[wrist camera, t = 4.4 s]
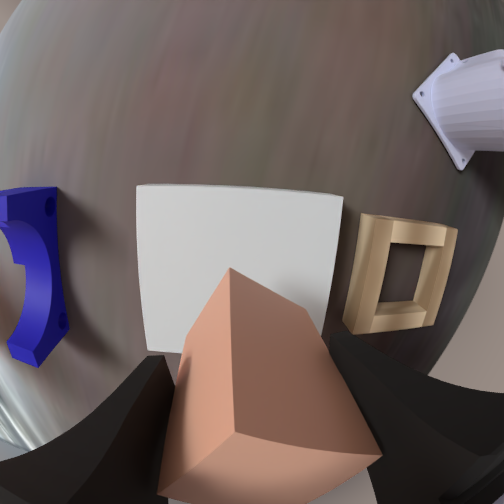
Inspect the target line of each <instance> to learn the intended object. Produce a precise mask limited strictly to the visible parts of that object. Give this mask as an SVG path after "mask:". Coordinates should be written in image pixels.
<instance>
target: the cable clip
mask: <svg viewBox="0 0 504 504" xmlns="http://www.w3.org/2000/svg"><path fill="white" fill-rule="evenodd" d="M0 229H1V230H2V232H3V233H4V235H5V236H6V238H7V240H8V243H9V245H10V248H11V252H12V256H13V261H14V263H16V264H22V265H25V269H26V293H25V300H24V306H23V310H22V314H21V317H20V320H19V322H18V325H17V327H16V329H15V331H14V332H13V334H12V335H11V337H10V338H9V339H8V340H7V345H8V347H9V350H10V353H11V355H12V358H15V359H17V360H19V361H22V362H24V363H27V364H29V365H32V366H35V367H37V368H39V367H40V365H41V364H42V363H43V361H44V360H45V359H46V358H47V356H48V355H49V354H50V352H51V351H52V350H53V349H54V347H55V346H56V345H57V344H58V343H59V341H60V340H61V339H62V338H63V337H64V335H65V334H66V333H67V332H68V331H69V329H70V328H69V323H68V318H67V313H66V307H65V302H64V296H63V289H62V282H61V274H60V265H59V254H58V239H57V187H24V188H14V189H8V190H3V191H0Z"/></svg>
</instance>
